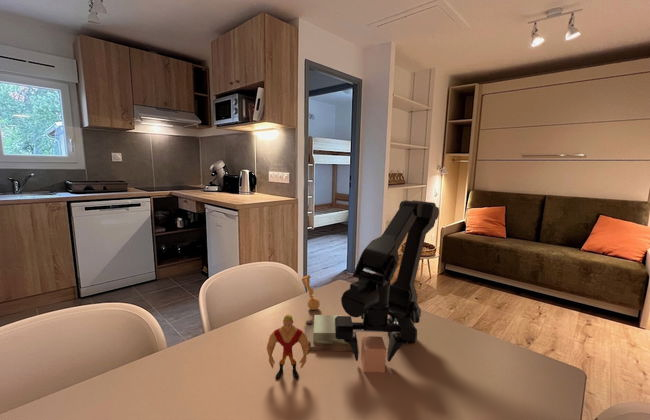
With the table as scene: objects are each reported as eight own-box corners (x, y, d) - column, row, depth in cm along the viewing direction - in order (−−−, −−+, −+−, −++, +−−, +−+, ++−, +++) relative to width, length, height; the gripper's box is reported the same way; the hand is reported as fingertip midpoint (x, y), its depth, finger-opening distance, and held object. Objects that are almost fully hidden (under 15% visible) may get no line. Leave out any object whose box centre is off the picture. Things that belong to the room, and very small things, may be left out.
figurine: (321, 315, 94) (322, 279, 92) (302, 316, 93) (303, 280, 91) (317, 302, 102) (318, 269, 100) (300, 303, 101) (300, 270, 99)
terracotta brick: (380, 358, 74) (382, 336, 73) (384, 372, 69) (386, 349, 68) (360, 358, 74) (361, 336, 73) (363, 372, 69) (364, 348, 68)
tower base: (352, 325, 88) (353, 313, 88) (357, 351, 77) (358, 337, 76) (305, 324, 88) (306, 311, 88) (303, 350, 76) (303, 335, 76)
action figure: (265, 381, 65) (265, 318, 63) (267, 369, 69) (267, 310, 66) (308, 381, 66) (309, 318, 63) (308, 369, 69) (309, 310, 67)
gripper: (406, 286, 77) (402, 340, 80) (334, 284, 77) (332, 339, 79) (420, 307, 66) (414, 370, 69) (336, 305, 66) (334, 368, 68)
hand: (372, 360), depth 72 cm, fingers open, 7 cm apart
